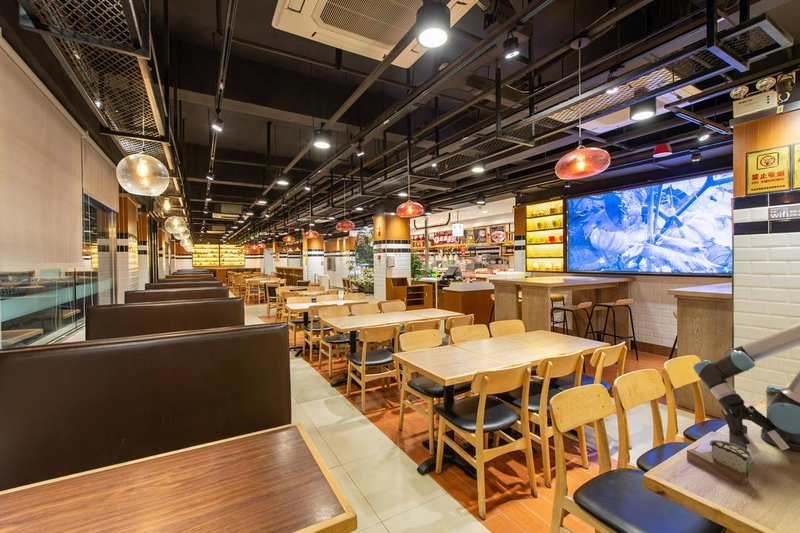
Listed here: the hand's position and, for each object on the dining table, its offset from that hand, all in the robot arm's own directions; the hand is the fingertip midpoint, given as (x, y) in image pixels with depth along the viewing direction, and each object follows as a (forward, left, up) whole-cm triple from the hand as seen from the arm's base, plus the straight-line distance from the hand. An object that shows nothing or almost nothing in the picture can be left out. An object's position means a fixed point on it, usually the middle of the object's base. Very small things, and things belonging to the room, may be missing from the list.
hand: (771, 451), depth 131 cm
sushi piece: (+21, +3, -5) cm, 22 cm away
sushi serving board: (+14, -1, -5) cm, 15 cm away
